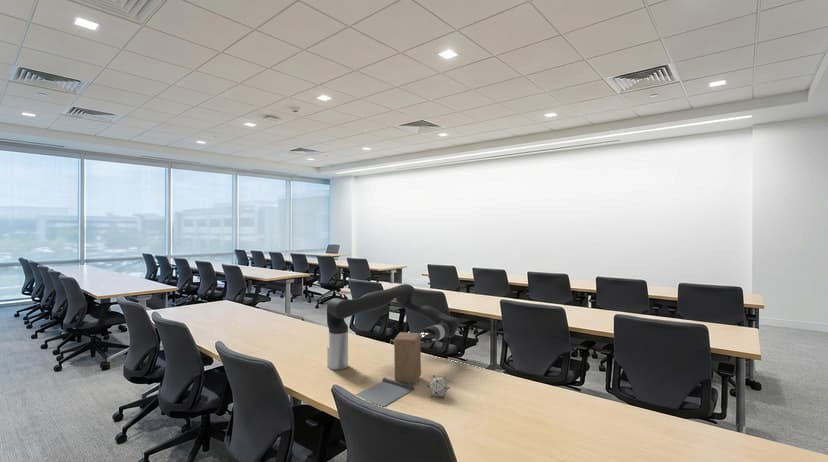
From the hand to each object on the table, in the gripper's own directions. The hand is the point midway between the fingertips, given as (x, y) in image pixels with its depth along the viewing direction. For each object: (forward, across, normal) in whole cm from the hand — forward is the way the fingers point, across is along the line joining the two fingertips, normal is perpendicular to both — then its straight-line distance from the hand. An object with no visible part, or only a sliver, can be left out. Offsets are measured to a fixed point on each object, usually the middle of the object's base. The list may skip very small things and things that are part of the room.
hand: (413, 341), depth 175 cm
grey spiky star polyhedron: (+11, +20, +17) cm, 28 cm away
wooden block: (+4, 0, +16) cm, 17 cm away
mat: (+21, 0, +16) cm, 27 cm away
